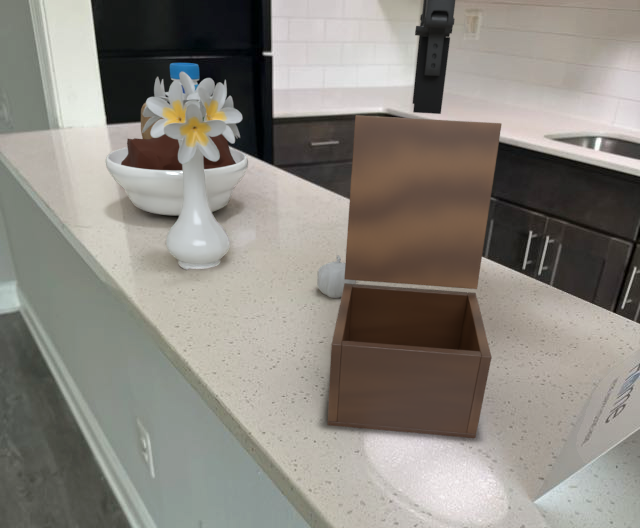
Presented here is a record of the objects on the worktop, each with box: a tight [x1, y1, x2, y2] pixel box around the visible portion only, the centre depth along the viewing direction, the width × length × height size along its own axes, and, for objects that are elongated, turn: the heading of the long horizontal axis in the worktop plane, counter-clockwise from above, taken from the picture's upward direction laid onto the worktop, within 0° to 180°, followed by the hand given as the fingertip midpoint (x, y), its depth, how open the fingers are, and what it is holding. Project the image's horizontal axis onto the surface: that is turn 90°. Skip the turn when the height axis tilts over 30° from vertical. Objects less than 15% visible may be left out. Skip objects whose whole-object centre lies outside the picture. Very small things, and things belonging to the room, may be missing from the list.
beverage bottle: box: [169, 62, 200, 94], centre depth 158 cm, size 8×8×20 cm
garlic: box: [316, 254, 357, 299], centre depth 88 cm, size 6×5×5 cm
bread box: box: [326, 283, 492, 439], centre depth 65 cm, size 15×14×9 cm
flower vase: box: [142, 72, 243, 271], centre depth 91 cm, size 13×18×25 cm
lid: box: [344, 114, 502, 290], centre depth 65 cm, size 16×14×1 cm
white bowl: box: [104, 134, 249, 217], centre depth 118 cm, size 25×25×15 cm
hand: (426, 107), depth 68 cm, fingers open, 6 cm apart
